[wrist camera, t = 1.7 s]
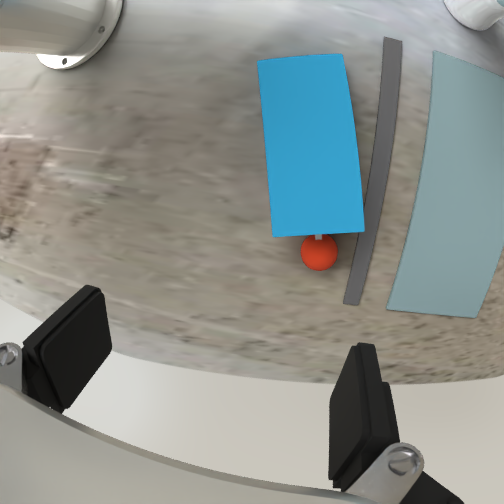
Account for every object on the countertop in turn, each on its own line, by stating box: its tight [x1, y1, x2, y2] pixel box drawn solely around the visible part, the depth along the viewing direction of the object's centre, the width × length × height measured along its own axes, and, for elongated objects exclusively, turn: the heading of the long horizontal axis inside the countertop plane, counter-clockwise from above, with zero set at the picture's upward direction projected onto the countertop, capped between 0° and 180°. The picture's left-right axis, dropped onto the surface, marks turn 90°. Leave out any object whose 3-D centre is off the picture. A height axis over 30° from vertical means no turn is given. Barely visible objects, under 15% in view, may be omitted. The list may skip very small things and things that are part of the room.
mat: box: [386, 51, 504, 318], centre depth 25 cm, size 26×12×1 cm, turn 175°
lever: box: [257, 54, 365, 271], centre depth 26 cm, size 7×7×18 cm
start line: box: [343, 37, 402, 305], centre depth 26 cm, size 26×2×1 cm, turn 175°
